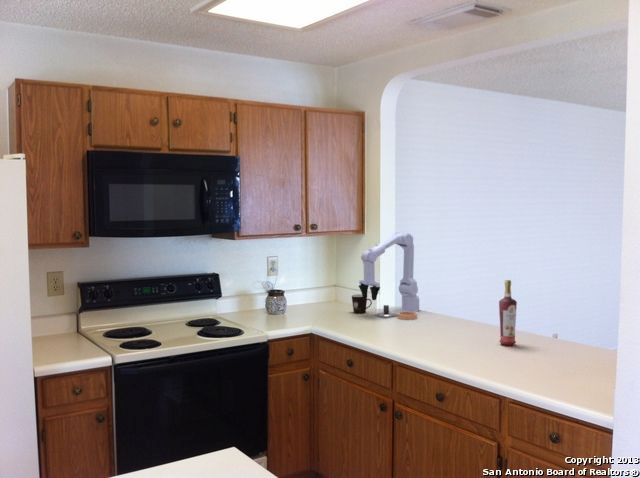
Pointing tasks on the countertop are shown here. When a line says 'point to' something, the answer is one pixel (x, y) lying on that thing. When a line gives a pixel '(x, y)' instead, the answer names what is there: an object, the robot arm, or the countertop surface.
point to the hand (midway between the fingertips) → (369, 299)
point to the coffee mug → (359, 304)
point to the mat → (384, 317)
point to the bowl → (407, 315)
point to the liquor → (507, 317)
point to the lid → (386, 312)
